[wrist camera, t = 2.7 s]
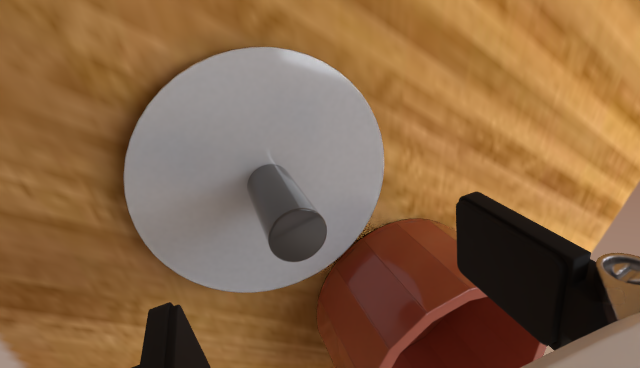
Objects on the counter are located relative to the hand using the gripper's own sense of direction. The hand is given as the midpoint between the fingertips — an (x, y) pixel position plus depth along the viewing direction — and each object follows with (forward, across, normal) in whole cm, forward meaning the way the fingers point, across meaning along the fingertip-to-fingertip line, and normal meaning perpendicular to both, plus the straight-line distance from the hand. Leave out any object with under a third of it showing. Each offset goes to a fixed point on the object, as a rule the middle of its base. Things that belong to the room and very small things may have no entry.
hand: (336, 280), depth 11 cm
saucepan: (+10, -6, +12) cm, 17 cm away
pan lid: (+9, 0, 0) cm, 9 cm away
